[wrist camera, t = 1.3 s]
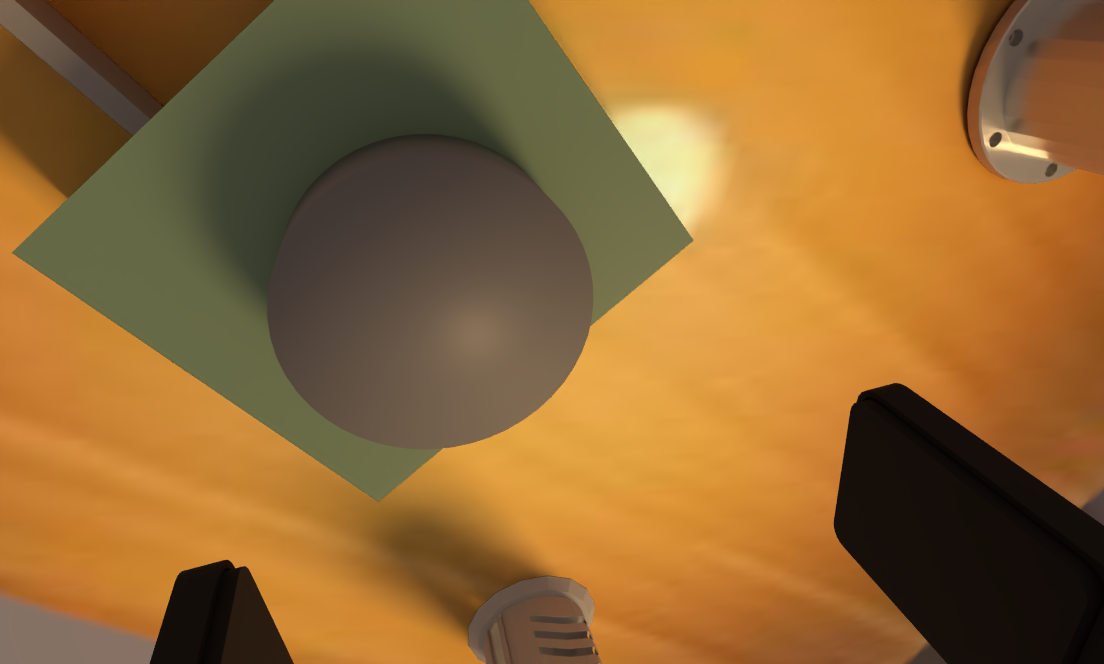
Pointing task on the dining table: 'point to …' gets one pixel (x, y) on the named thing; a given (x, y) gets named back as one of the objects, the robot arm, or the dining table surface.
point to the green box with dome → (359, 220)
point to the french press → (535, 624)
